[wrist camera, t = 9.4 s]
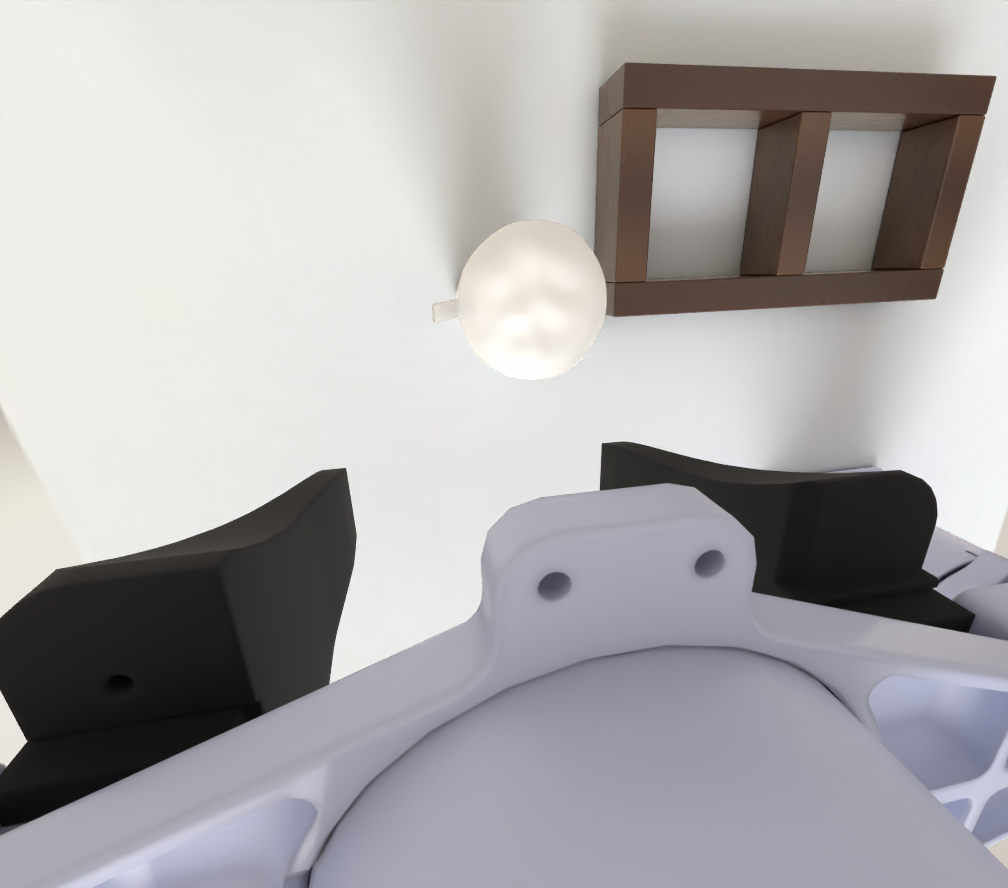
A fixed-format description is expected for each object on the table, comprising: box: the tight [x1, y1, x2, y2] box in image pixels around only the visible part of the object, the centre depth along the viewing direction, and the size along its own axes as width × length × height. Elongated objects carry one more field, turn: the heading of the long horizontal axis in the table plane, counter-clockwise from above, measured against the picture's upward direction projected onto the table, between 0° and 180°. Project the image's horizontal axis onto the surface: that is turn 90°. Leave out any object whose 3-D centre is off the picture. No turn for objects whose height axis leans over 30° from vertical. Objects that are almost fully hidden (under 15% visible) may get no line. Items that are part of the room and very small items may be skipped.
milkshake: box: [432, 220, 607, 380], centre depth 17 cm, size 5×5×10 cm
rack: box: [595, 63, 996, 317], centre depth 21 cm, size 9×17×3 cm, turn 92°
